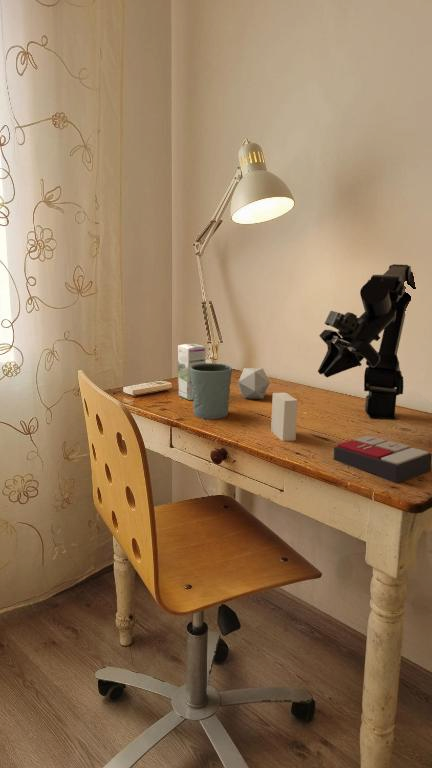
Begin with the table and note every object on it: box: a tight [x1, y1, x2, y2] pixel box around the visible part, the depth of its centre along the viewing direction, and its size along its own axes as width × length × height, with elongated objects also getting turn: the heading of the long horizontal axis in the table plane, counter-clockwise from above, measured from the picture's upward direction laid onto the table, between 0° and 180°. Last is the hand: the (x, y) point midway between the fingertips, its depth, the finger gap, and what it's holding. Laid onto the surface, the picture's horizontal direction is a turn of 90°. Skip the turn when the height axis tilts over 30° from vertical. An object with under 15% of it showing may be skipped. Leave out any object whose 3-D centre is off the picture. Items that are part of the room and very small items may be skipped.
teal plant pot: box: [190, 362, 233, 420], centre depth 143 cm, size 10×10×12 cm
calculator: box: [333, 435, 432, 484], centre depth 112 cm, size 11×4×15 cm
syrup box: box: [177, 343, 206, 401], centre depth 158 cm, size 6×6×14 cm
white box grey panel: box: [270, 392, 299, 442], centre depth 128 cm, size 3×7×9 cm, turn 16°
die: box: [237, 367, 271, 400], centre depth 160 cm, size 8×9×10 cm
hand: (322, 374), depth 128 cm, fingers open, 3 cm apart
